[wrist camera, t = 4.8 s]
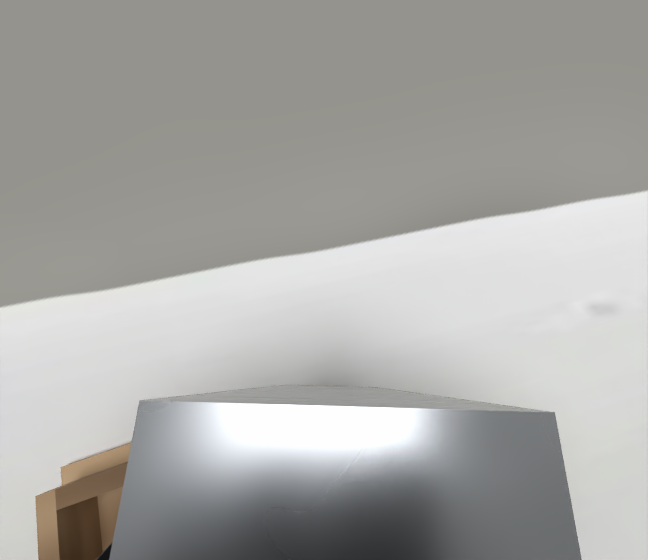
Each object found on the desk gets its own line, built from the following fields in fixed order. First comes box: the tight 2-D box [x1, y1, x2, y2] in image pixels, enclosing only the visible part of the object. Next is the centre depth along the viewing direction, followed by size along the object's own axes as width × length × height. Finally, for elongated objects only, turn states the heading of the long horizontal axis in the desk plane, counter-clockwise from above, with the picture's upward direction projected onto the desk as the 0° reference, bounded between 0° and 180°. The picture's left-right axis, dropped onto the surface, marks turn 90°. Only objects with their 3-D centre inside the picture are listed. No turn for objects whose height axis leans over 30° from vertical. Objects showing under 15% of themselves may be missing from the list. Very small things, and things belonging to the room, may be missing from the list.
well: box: [36, 443, 131, 560], centre depth 17 cm, size 11×11×4 cm
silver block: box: [109, 385, 582, 560], centre depth 9 cm, size 4×4×13 cm
